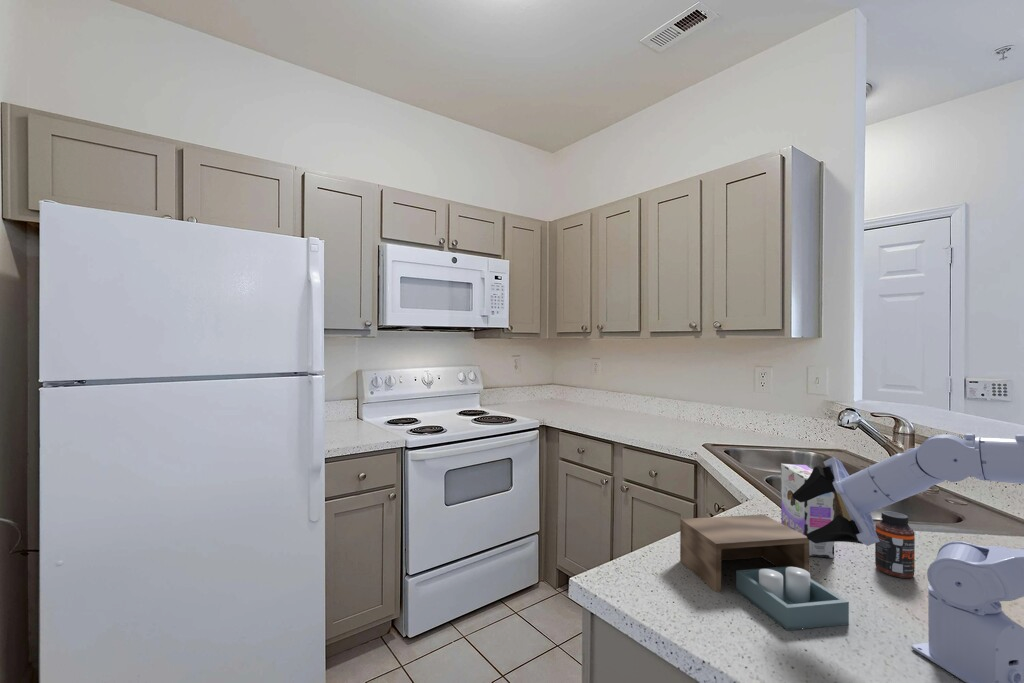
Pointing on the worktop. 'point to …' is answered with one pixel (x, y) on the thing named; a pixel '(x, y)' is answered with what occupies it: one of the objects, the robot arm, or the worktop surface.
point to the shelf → (738, 544)
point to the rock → (840, 507)
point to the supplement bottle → (895, 545)
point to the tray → (792, 611)
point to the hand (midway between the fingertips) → (803, 518)
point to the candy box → (805, 508)
